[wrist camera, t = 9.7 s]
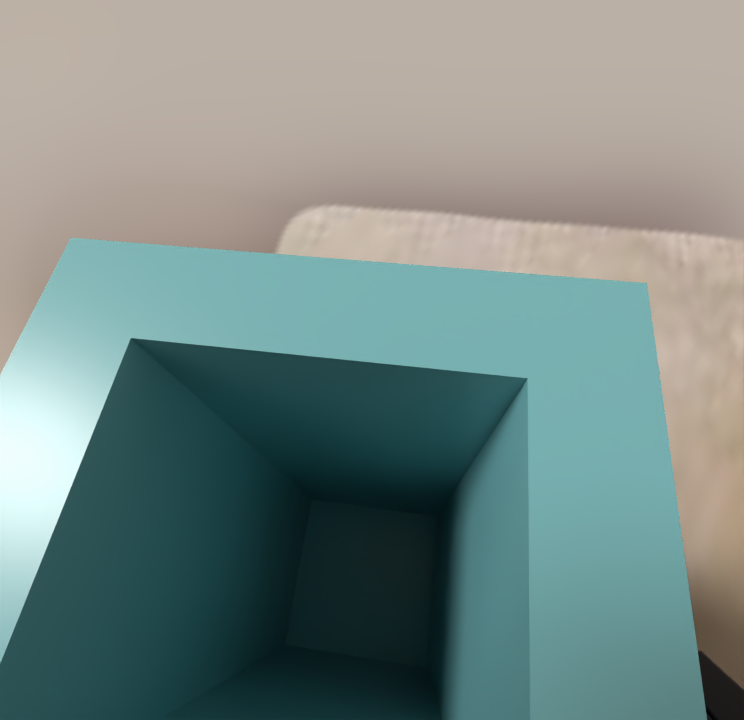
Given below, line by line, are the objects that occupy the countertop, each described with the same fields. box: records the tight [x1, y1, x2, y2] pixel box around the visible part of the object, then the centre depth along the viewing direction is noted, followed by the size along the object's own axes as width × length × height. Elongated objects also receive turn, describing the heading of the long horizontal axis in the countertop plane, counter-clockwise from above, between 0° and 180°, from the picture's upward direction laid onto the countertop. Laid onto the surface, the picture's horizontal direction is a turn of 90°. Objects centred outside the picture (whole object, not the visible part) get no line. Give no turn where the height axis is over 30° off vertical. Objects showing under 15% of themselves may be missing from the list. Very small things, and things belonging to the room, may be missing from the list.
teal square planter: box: [0, 238, 707, 720], centre depth 9 cm, size 6×6×12 cm
